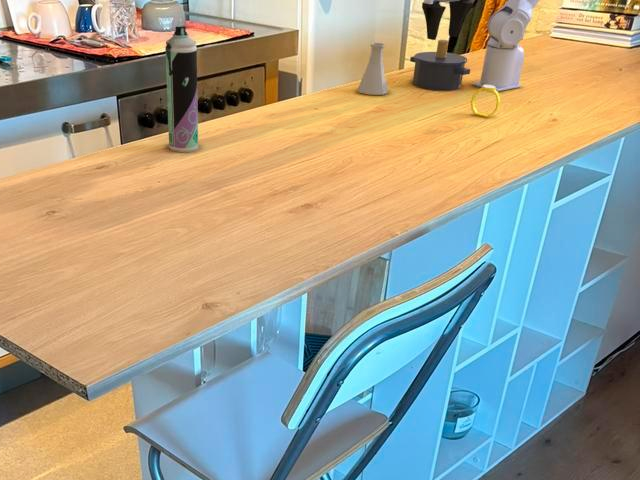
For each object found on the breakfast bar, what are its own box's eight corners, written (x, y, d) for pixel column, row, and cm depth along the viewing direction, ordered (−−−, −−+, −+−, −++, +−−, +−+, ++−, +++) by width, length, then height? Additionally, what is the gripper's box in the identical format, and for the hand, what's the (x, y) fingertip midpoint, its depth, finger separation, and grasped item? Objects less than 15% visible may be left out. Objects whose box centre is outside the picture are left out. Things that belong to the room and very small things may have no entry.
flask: (386, 97, 187) (392, 48, 181) (355, 94, 188) (360, 45, 182) (389, 89, 193) (394, 42, 186) (358, 87, 194) (363, 39, 187)
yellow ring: (467, 115, 177) (472, 85, 173) (471, 112, 179) (476, 82, 175) (494, 119, 175) (500, 89, 171) (497, 116, 177) (503, 86, 173)
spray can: (187, 154, 150) (184, 30, 137) (163, 148, 152) (158, 26, 139) (203, 147, 154) (202, 25, 141) (180, 141, 156) (177, 21, 143)
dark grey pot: (426, 75, 206) (430, 50, 202) (479, 89, 196) (483, 63, 192) (394, 80, 200) (397, 55, 197) (447, 95, 190) (451, 69, 187)
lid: (437, 54, 202) (441, 33, 199) (477, 64, 194) (481, 42, 191) (402, 60, 195) (405, 38, 192) (442, 70, 188) (445, 48, 185)
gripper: (460, -35, 188) (449, 32, 197) (418, -33, 181) (408, 37, 189) (484, -32, 184) (472, 37, 193) (442, -28, 177) (431, 42, 185)
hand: (442, 37), depth 191 cm, fingers open, 7 cm apart
